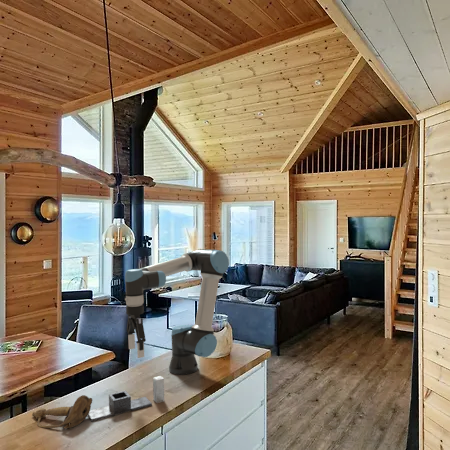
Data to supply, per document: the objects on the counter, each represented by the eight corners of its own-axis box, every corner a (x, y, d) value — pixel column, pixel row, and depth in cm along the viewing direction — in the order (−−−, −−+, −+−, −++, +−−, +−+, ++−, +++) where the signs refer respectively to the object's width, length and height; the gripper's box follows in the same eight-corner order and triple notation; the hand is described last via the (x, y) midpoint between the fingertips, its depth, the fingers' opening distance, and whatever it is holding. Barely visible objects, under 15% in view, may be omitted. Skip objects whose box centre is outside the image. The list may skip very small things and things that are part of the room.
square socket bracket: (145, 398, 180) (145, 385, 180) (151, 405, 174) (151, 391, 174) (87, 413, 167) (86, 399, 167) (91, 421, 161) (91, 406, 161)
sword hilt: (69, 419, 151) (90, 388, 164) (15, 411, 157) (39, 383, 170) (76, 438, 154) (96, 407, 168) (22, 431, 160) (46, 401, 174)
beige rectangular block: (161, 398, 181) (160, 375, 181) (164, 401, 178) (163, 378, 178) (153, 400, 179) (153, 377, 179) (156, 403, 176) (156, 380, 176)
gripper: (119, 301, 187) (120, 346, 187) (134, 311, 165) (136, 362, 166) (134, 299, 191) (136, 344, 191) (152, 308, 169) (153, 359, 169)
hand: (136, 352), depth 178 cm, fingers open, 13 cm apart
